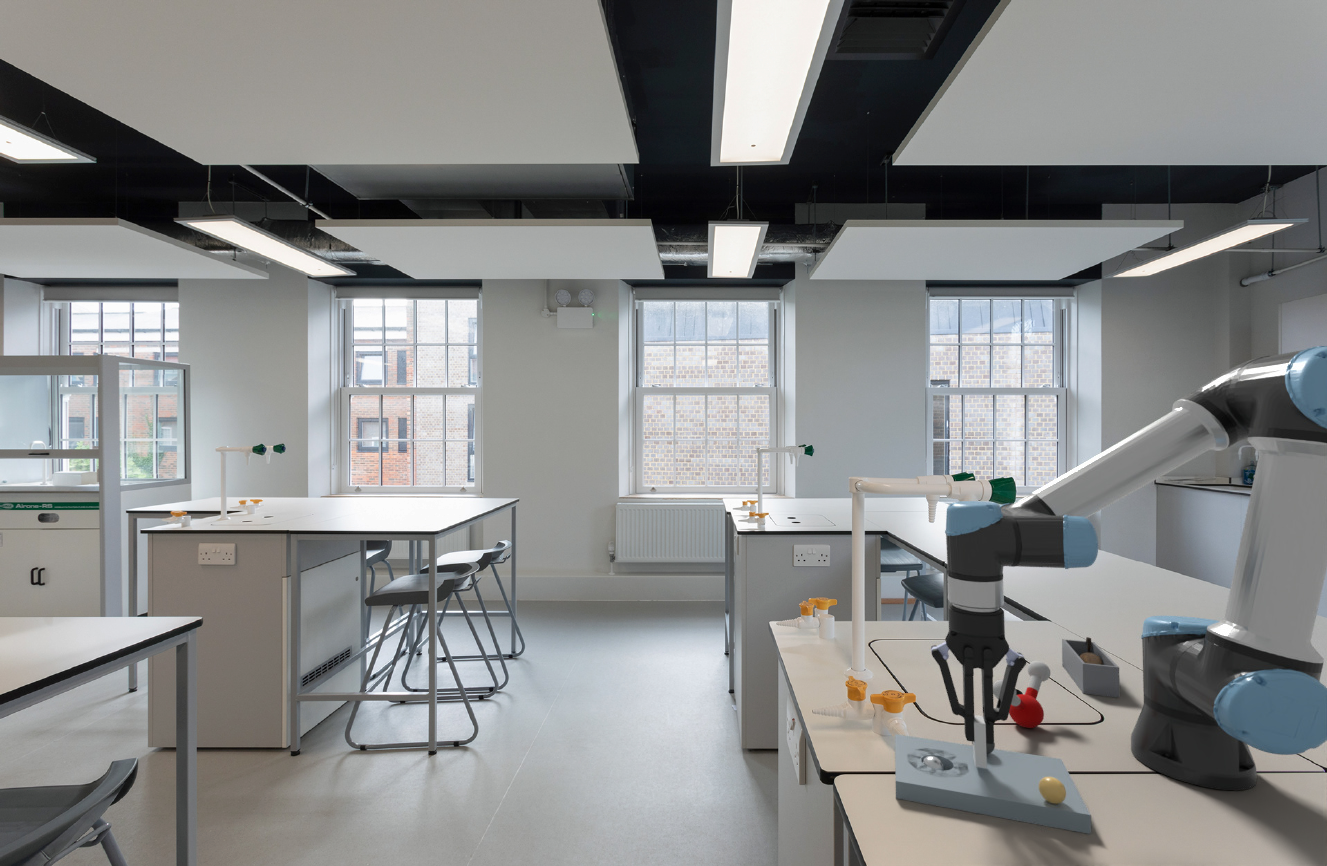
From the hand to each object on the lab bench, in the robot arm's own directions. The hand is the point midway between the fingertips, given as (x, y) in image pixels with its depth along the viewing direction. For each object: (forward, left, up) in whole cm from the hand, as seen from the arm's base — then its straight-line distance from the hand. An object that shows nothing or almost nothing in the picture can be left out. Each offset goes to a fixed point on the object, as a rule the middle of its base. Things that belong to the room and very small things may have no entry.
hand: (979, 762), depth 92 cm
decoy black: (-1, -5, +1) cm, 6 cm away
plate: (0, 0, -3) cm, 3 cm away
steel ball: (+6, 0, -2) cm, 7 cm away
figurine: (-27, -52, -4) cm, 59 cm away
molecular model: (-10, -24, -4) cm, 26 cm away
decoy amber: (-8, +6, +1) cm, 10 cm away
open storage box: (-27, -52, -3) cm, 59 cm away
